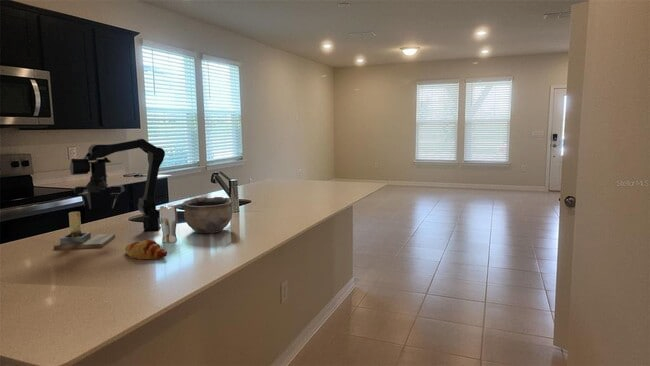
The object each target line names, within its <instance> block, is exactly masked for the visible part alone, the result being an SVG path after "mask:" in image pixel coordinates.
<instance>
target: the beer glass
mask: <svg viewBox="0 0 650 366" xmlns="http://www.w3.org/2000/svg"><path fill="white" fill-rule="evenodd" d="M159 212H160V227H161V231H162V232H161V233H162V238H161V242H162V243H163V242H165V244H170V243H169V242H172V243H175V242H174V241H176V242H177V241H178V237H177V231H176V230H177V225H178V211H177V205H172V204H171V205H163V206H160V207H159Z"/></svg>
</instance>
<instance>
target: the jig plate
mask: <svg viewBox="0 0 650 366" xmlns="http://www.w3.org/2000/svg"><path fill="white" fill-rule="evenodd" d="M81 233H82V236H81V237H70V232H68V233H67V234H65V235H63V236H61V237H60V238H59V241H58V242H57V243H55V244H53V250H70V249H71V250H72V249H93V248H95V249H97V248H99V249H100V248H104V247H105V246H107V244H108V243H110V242H111V241H112V240H114V239H115V238H116V234H115V233H106V234H105V233H101V234H100V233H99V234H92V233H91V231H89V232H88V231H87V232H81Z"/></svg>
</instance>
